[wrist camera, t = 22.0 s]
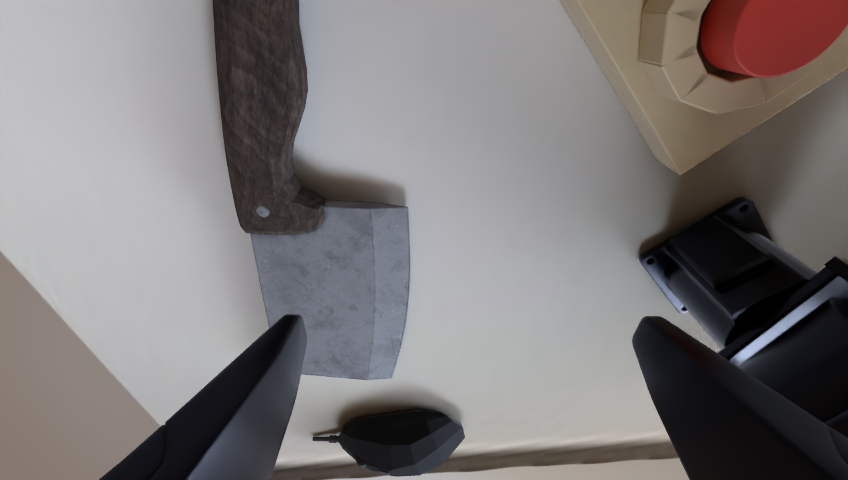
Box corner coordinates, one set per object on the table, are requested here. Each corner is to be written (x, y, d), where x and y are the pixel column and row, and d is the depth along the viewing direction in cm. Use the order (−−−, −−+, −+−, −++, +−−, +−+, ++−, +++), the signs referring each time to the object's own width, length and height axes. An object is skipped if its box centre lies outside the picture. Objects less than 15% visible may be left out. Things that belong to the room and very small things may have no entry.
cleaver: (170, -132, 13) (130, -152, 11) (433, -108, 13) (434, -123, 12) (286, 368, 30) (277, 391, 28) (404, 373, 30) (402, 397, 28)
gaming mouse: (301, 419, 33) (288, 465, 30) (458, 402, 32) (462, 448, 28) (324, 452, 37) (314, 497, 33) (467, 438, 35) (471, 484, 32)
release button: (824, 17, 13) (876, 18, 11) (719, 91, 14) (753, 100, 13) (797, -80, 11) (853, -93, 10) (683, 12, 13) (717, 13, 11)
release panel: (826, 45, 16) (929, 55, 13) (656, 160, 19) (704, 192, 16) (747, -224, 12) (872, -313, 9) (544, -22, 15) (578, -30, 12)
